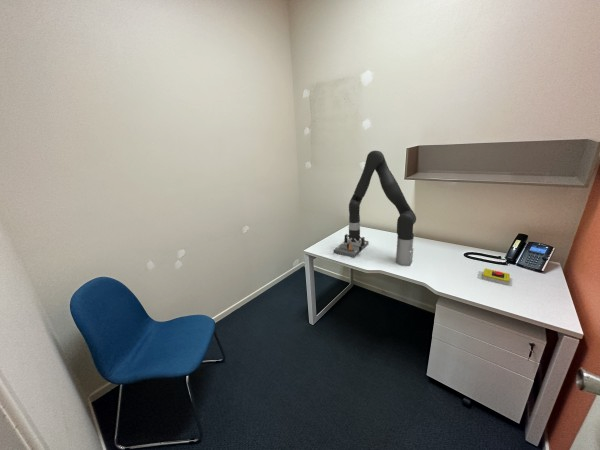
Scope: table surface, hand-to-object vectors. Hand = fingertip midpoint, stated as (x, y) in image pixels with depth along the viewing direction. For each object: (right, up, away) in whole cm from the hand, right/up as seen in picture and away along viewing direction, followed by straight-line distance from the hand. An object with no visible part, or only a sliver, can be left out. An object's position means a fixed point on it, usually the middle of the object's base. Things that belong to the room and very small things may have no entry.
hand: (354, 249), depth 175 cm
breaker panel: (0, 0, +10) cm, 11 cm away
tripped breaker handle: (-2, 0, +2) cm, 3 cm away
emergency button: (+69, -13, -38) cm, 80 cm away
